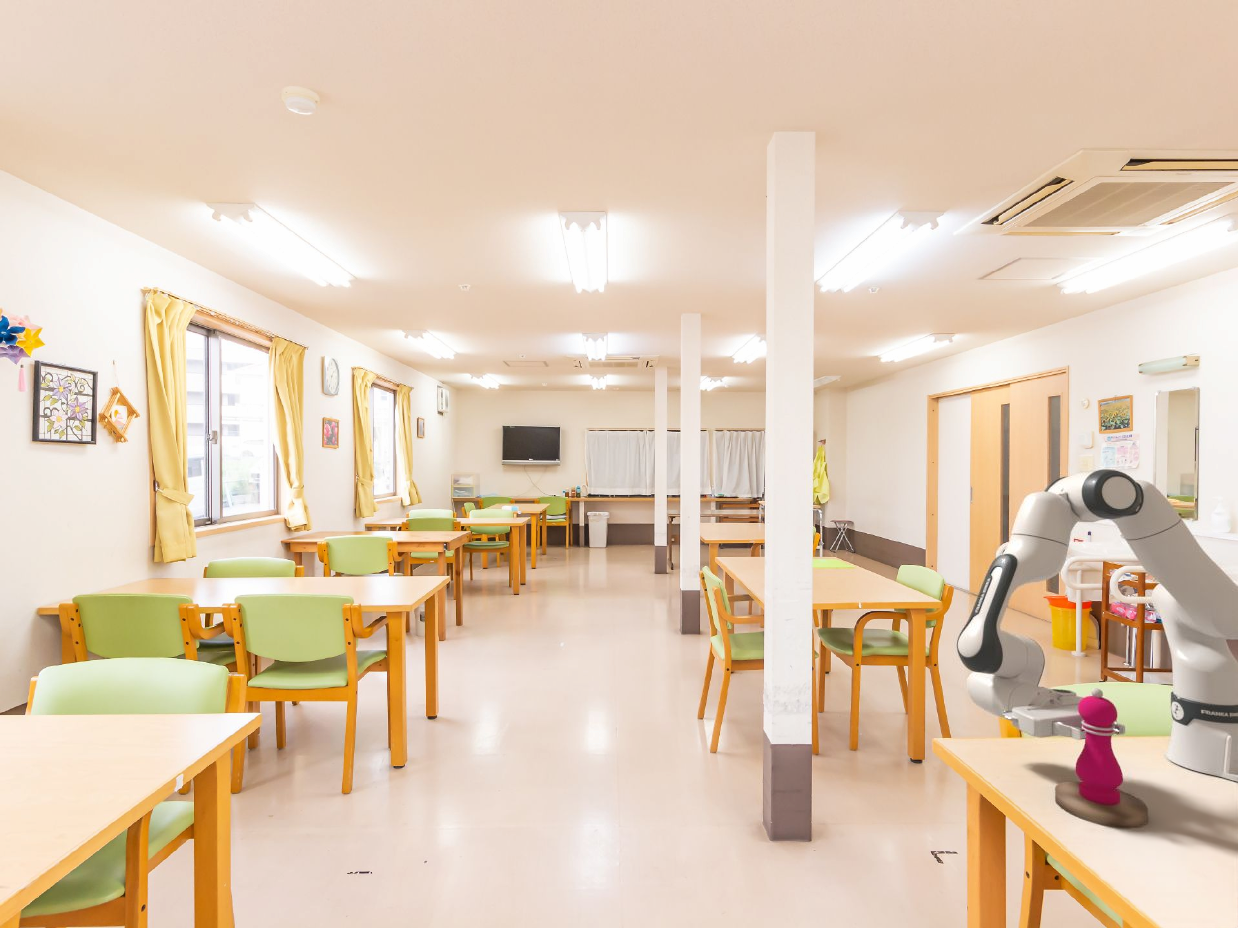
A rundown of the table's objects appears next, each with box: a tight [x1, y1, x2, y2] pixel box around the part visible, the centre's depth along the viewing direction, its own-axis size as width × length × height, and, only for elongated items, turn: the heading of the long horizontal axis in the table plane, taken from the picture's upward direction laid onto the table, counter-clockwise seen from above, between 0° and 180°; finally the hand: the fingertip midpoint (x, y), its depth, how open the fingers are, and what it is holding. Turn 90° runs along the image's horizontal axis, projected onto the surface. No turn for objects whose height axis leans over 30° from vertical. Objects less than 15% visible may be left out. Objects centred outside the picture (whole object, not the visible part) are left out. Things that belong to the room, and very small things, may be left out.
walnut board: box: [1054, 780, 1149, 829], centre depth 125 cm, size 14×14×2 cm
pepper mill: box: [1075, 687, 1124, 805], centre depth 126 cm, size 7×7×20 cm
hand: (1102, 732), depth 125 cm, fingers open, 8 cm apart
